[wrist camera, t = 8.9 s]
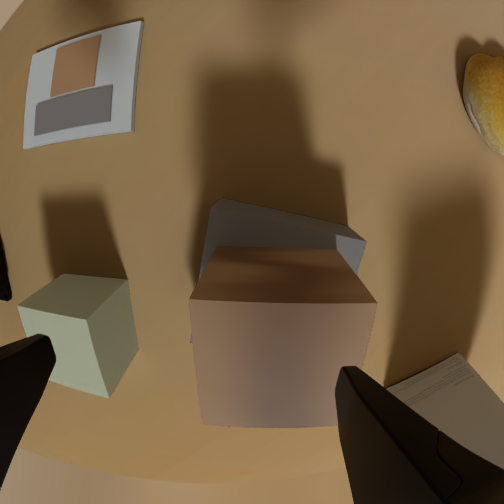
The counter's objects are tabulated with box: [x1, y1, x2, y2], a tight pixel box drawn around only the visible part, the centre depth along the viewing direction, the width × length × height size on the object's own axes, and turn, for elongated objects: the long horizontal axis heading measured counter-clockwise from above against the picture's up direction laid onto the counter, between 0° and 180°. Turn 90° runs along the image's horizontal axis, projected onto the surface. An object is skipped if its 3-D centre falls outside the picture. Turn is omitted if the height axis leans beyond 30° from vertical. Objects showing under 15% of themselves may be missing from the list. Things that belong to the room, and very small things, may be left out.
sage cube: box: [17, 273, 139, 398], centre depth 18 cm, size 6×6×6 cm
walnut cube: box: [189, 246, 377, 428], centre depth 13 cm, size 6×6×6 cm
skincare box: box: [386, 352, 504, 469], centre depth 15 cm, size 8×6×15 cm
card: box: [23, 21, 144, 149], centre depth 15 cm, size 10×8×1 cm
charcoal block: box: [190, 198, 366, 344], centre depth 17 cm, size 8×8×4 cm
